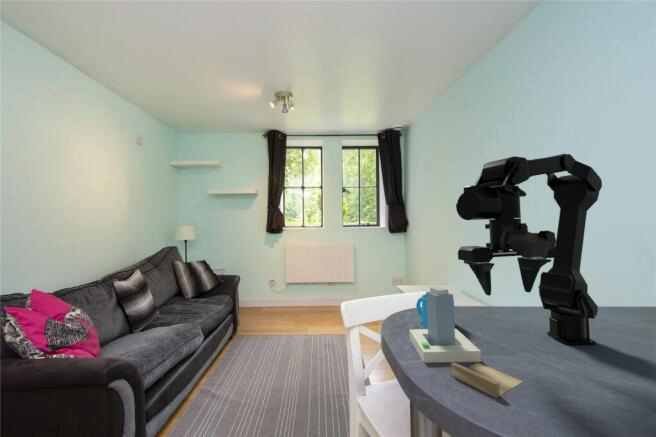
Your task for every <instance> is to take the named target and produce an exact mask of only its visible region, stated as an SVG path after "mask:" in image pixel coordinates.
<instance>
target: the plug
mask: <svg viewBox="0 0 656 437" xmlns="http://www.w3.org/2000/svg"><path fill="white" fill-rule="evenodd" d="M429 288H430V289H429V290H430V291H425V294H426V299H427V322H428V343H429V344H430V345H431V346H454V345H455V329H456V328H455V327H456V325H455V326H454V314H455V304H454V305H453V298H454V294H453V293H450V292H449V289H447V288H445V287H442V286H432V287H429Z"/></svg>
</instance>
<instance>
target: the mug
mask: <svg viewBox="0 0 656 437" xmlns="http://www.w3.org/2000/svg"><path fill="white" fill-rule="evenodd" d="M453 305H454V306H455V298H454V297H453ZM415 306H416V311H417V312H418V313H417V314H418V315H419V316H420V317H421V319H422V327H423V328H422V329H428V322H427V299H426V293H425V294H422V295H421V297H419V298H418V299H417V301H416V305H415ZM455 319H456V316H455V313H454V326H455V327H456V320H455Z"/></svg>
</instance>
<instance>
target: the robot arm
mask: <svg viewBox="0 0 656 437" xmlns="http://www.w3.org/2000/svg"><path fill="white" fill-rule="evenodd" d="M562 172H567V173H568V174H567V175H561V176H559V177H558V176H557V175H556V174H557V173H562ZM541 175H546V176H547V177H546V178H547V179H546V185H547V187H549V189H550V190H552V192H553V200H554V202H555V203H556V204H557V205H558V207H559V215H558V217H559V218H558V224H557V230H556V234H555V232H554V231H551V230H540V231H539V232H530V231H529V229H528V228H529V227H528V225H527V223H525V222H522V218H521V217H522V210H521V197H522V198H523V197H526V196H527V192H526V191H524V190H523V189H521V188H520V186H519V185H520V184H522V183H525V182H526V181H527V182H528V180H529V179H530V178H531V177H534V176H541ZM602 187H603V182H602V179H601V177H600V176H599V175H598V173H597V171H596V170H594V168H593V167H592V166H590V165H588V164H586V163H583V162H580V161H578V160H576V159H575V157H574V156H573V155H571V154H570V153H561V154H557V155H552V156H547V157H541V158H540V157H539V158H535V159H527V158H526V157H523V156H510V157H506V158H502V159H498V160H497V159H496V160H494V161H490V162H489V161H488V162H486V163H484V164H483V166H482V170H481V171H480V174H479V176H478V177H477V180H476V181H475V183H474V185H472V184H471V185H467V186H464V187H463V193H461V194H460V195H459V197H458V199H457V202H456V203H455V209H456V212H457V214H458V216H459V218H461V219H463V220H465V221H477V220H478V221H479V220H480V221H481V220H485V221H486V220H488V223H487V224H486V223H485V224H484V228H485V230H486V229H487V230H489V242H486V243H485V246H480V245H469V246H468V245H466V246H465V245H464V246H460V247H459V249H458V251H457V260H459V261H463V263H464V264H466V265H468V266H469V267H470V270H471V271H472V272H473V274H474V275H475V278H476V279H477V280H478V283H479V284H480V287H481V288H482V290H483V293H484V294H485V295H486V296H489V297H490V296H491V295H492V273H491V271H492V269H493V268H494V266H495V263H493V262H491V261H492V260H493V259H494V258H504V257H517V262H518V267H519V268H518V269H519V272H520V277H521V281H522V282H521V283H522V285H523V289H524V292H526V293H531V292H532V290H533V288H534V285H535V282H536V279H537V276H538V274H539V272H540V270H541V268H542V267H543V266H545V265H546V264H548V263H551V262H552V260H553V262H552V266H551V268H550V269H548V271H542V272H541V274H540V281H539V285H538V295H539V298H540V302H541V303H542V309H543V310H549V311H550V317H549V318H548V319H549V322H548V323H549V331H546V334H547V335H548V336H551V338H555V339H556V340H558V341H560V342H562V343H563V344H566V345H596V344H597V341H596V340H593V339H591V336H590V319H596V317H597V316H598V310H599V306H598V304H597V303H596V302H595V301H594V299H593V298H592V297H591V296H590V294H589V292H588V287H589V285H588V283H587V282H586V280H585V278H584V276H583V275H582V273H581V265H582V256H583V247H584V239H585V231H586V222H587V214H588V211H589V209H591V208H592V207H593V206H594V204H595V203H597V201H598V199H599V196H600V191H601V189H602Z"/></svg>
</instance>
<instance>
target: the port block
mask: <svg viewBox="0 0 656 437" xmlns="http://www.w3.org/2000/svg"><path fill="white" fill-rule="evenodd" d="M408 331H409V333H408V335H409V339H410V341H411V343H412V345H413V346H414V348H415V350H416V351H417V353H418V354H419V356H420V359H421V360H422V362H423V363H429V364H430V363H454V362H455V363H480V362H482V350H480V349H479V348H478V347H477V346H476V345H474V343H473V342H471V340H470V339H468V337H466V336H465V335H464V334H463V333H462V332H460V331H459V330H458V329H457V328H455V345H454V346H431V345H430V344H429V343H428V329H424V328H418V329H417V328H416V329H415V328H414V329H412V328H411V329H409V330H408Z"/></svg>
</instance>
